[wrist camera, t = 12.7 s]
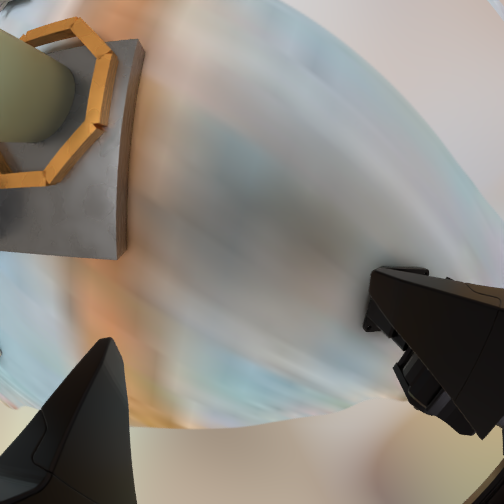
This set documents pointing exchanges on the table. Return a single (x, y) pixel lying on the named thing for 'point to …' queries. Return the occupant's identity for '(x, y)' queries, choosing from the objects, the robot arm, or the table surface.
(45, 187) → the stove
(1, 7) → the grey blocky piece
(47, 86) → the lidded cup with straw
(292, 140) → the table surface
